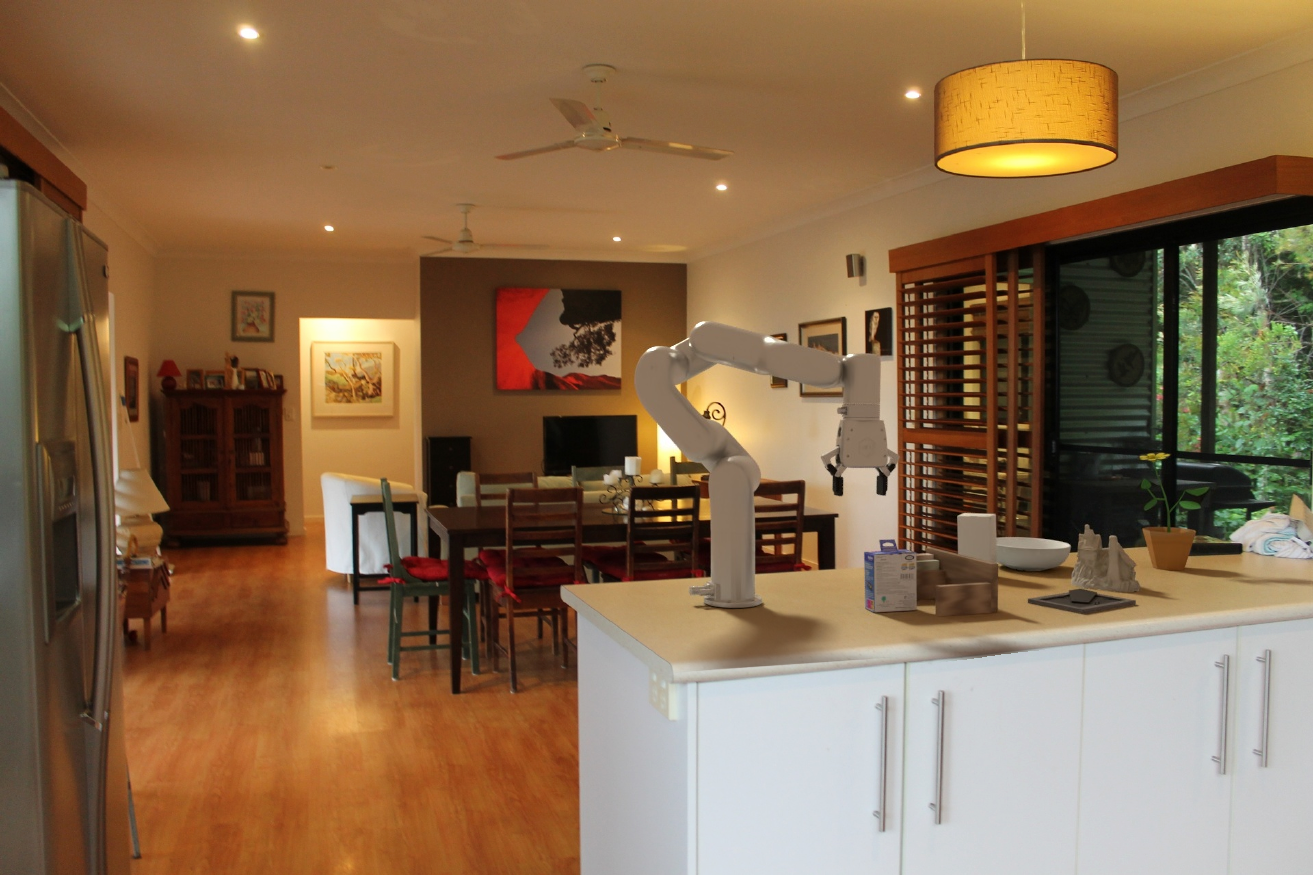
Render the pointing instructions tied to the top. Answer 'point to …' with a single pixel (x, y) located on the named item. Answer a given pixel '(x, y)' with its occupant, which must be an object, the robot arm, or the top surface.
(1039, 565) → the serving bowl
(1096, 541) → the ceramic cottage
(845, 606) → the top surface
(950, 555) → the book rack
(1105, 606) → the picture frame
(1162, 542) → the potted plant
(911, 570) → the ink cartridge box
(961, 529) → the skincare box
